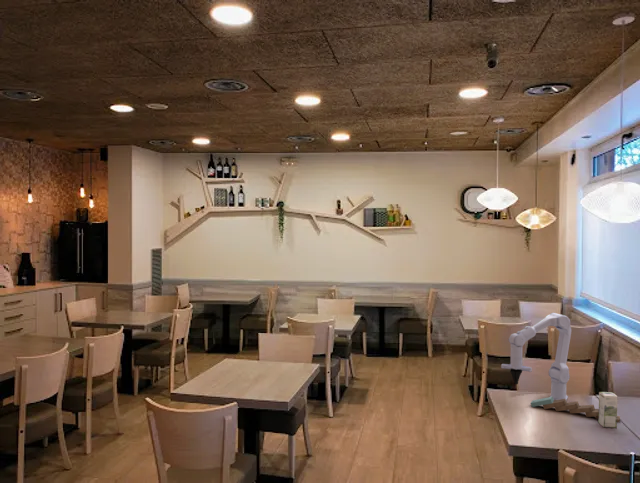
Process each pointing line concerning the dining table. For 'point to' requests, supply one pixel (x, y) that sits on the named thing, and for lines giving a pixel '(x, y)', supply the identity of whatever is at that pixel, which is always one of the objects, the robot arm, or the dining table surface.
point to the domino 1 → (542, 401)
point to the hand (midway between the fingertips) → (516, 383)
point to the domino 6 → (617, 418)
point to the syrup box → (608, 409)
